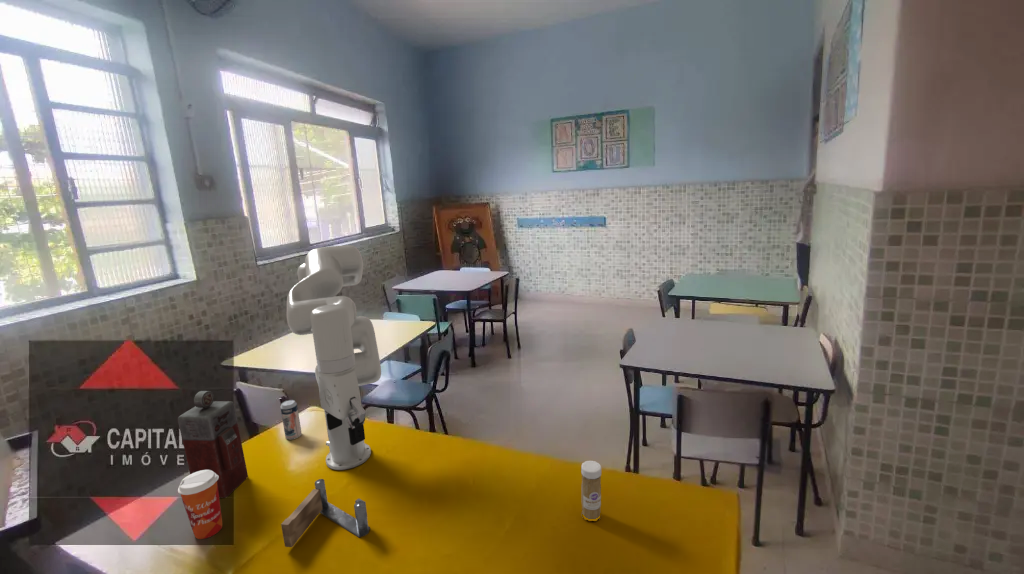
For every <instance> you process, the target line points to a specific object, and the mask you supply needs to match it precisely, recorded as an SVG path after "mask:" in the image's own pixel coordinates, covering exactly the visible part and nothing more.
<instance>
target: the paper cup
mask: <svg viewBox="0 0 1024 574" xmlns="http://www.w3.org/2000/svg"><path fill="white" fill-rule="evenodd" d="M218 478H219V476H218V475H217V474H216V473H215V472H213V471H212V470H201V471H197V472H195V473H192V474H190V473H189V475H187V476H185V477H184V478H183V479H182V480H181V481H180V484H179V486H178V489H177V492H178V494H180V497H181V500H182V503H183V506H184V509H185V512H186V515H187V518H188V521H189V524H190V527H191V530H192V532H193V535H194V537H195V538H196V539H197V540H206V539H209V538H211V537H213V536H215V535H216V534H219V532H220V531H221V530H222V528H223V516H222V509H221V501H220V498H219V493H218V485H217V480H218Z"/></svg>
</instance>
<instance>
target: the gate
mask: <svg viewBox="0 0 1024 574" xmlns="http://www.w3.org/2000/svg"><path fill="white" fill-rule="evenodd" d="M322 509H323V508H322V502H321V496H320V490H318V489H315V488H314V489H312V490H311V492H310V493H308V495H307V496H306V497H305V498H304V499H303V501H302V502H301V503H300V504H299V505H298V506H297V507H296V509H294V511H293V512H292V513H291V514H290V515H289V516H288V517H286V518H285V519H284V521H282V523H281V524H280V527H281V531H282V538H283V541H284V547H286V548H293V547H294V546H295V545H296V543H297V542H298V541H299V539H300V538H301V537H302V536H303V534H304V532H306V531H307V529H308V528H309V527H310V526H311V524H312V523H313V522H314V520H315V519H316V518H317V517H318V516H319V514H321V513H320V512H321V510H322Z"/></svg>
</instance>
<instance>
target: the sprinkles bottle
mask: <svg viewBox="0 0 1024 574" xmlns="http://www.w3.org/2000/svg"><path fill="white" fill-rule="evenodd" d="M580 470H581V471H580V472H581V510H582V511H581V515H582V514H583V515H584V516H585V517H586V518H588V519H596V518H598V517H599V516H600V513H601V506H602V501H601V500H602V492H601V491H602V490H601V489H602V486H601V485H602V483H601V481H602V480H601V478H602V477H601V476H602V465H601V464H600V463H599V462H598V461H595V460H585V461H584V462H582V463H581V469H580Z"/></svg>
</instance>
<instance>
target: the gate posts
mask: <svg viewBox="0 0 1024 574" xmlns="http://www.w3.org/2000/svg"><path fill="white" fill-rule="evenodd" d="M314 489H318V490H320V496H321V502H322V508H323V509H322V510H321V512H320V513H319V514H321V515H323V516H325V517H326V518H328V519H329V520H330V521H332V522H334V523H335V524H337V525H339V526H340V527H342V528H343V529H345V530H347V532H350V533H351V534H353V535H354V536H355V537H358V538H361V537H365V536H367V535H368V534H369V533H370V530H371V527H370V526H369V523H368V522H369V521H368V512H367V505H366V504H367V503H366V501H365V500H362V499H361V498H357V499H355V501H354V502H355V503H354V505H353V508H354V509H353V510H354V515H355V517H354V516H352V515H350V514H349V513H347V512H345V511H344V510H342V509H340V507H337V506H335V505H334V504H332V503H330V502H328V495H327V490H326V489H327V488H326V484H325V479H323V478H319V479H317V480H316V481H314Z"/></svg>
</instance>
